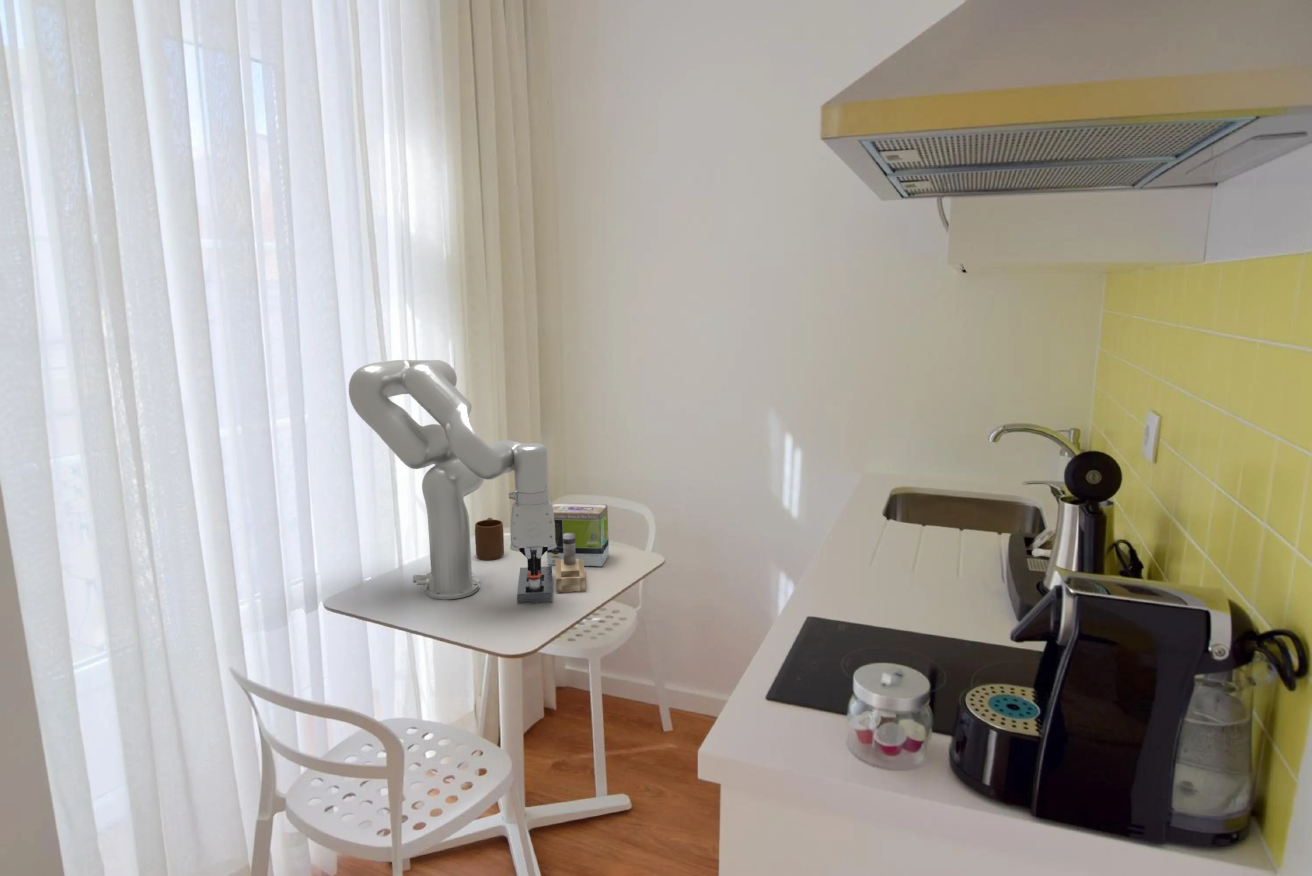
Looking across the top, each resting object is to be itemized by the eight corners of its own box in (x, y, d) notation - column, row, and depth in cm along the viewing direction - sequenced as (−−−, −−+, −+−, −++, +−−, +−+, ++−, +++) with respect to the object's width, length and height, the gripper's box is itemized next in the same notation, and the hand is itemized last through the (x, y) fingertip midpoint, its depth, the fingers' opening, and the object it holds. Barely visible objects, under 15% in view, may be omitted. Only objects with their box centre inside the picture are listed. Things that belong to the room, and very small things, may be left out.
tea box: (609, 555, 216) (608, 503, 213) (601, 568, 206) (600, 513, 204) (556, 553, 218) (554, 501, 215) (546, 565, 208) (544, 511, 206)
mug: (477, 547, 223) (476, 515, 221) (504, 546, 224) (503, 514, 223) (475, 561, 211) (473, 527, 210) (504, 559, 213) (502, 526, 211)
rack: (556, 592, 189) (555, 549, 187) (556, 572, 203) (555, 531, 201) (585, 591, 190) (584, 547, 188) (583, 571, 203) (582, 530, 202)
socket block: (517, 604, 182) (517, 594, 182) (520, 577, 200) (520, 567, 199) (552, 602, 183) (551, 592, 183) (552, 575, 201) (552, 566, 200)
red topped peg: (527, 597, 183) (526, 576, 182) (527, 592, 186) (527, 571, 185) (542, 597, 183) (541, 575, 182) (542, 591, 187) (541, 570, 186)
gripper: (497, 502, 176) (500, 580, 179) (564, 500, 178) (566, 577, 181) (499, 494, 183) (503, 569, 186) (564, 492, 185) (566, 566, 188)
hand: (534, 573), depth 184 cm, fingers closed
